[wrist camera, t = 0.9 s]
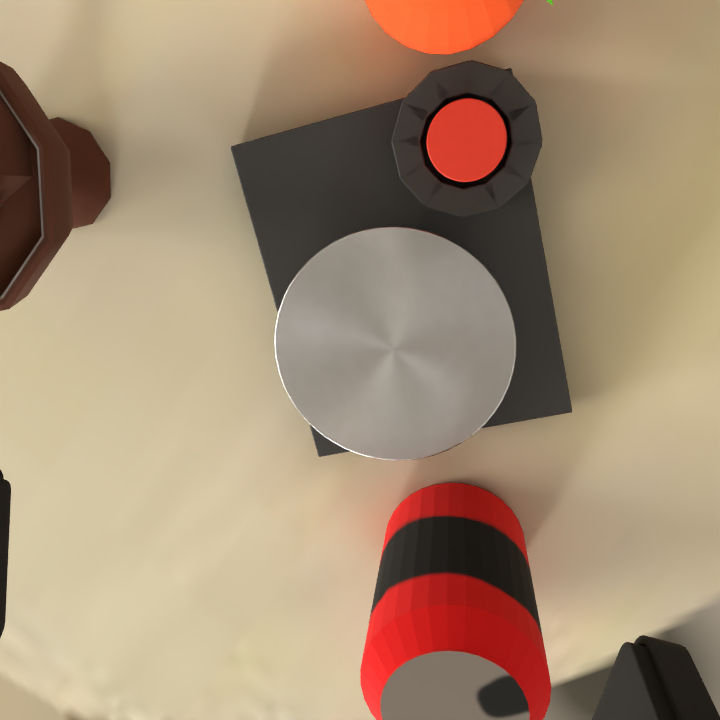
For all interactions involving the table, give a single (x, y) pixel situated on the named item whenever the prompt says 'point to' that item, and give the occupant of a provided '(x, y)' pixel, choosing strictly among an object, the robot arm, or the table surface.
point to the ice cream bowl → (41, 186)
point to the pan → (395, 342)
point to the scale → (417, 209)
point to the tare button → (466, 140)
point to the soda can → (454, 614)
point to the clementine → (443, 22)
